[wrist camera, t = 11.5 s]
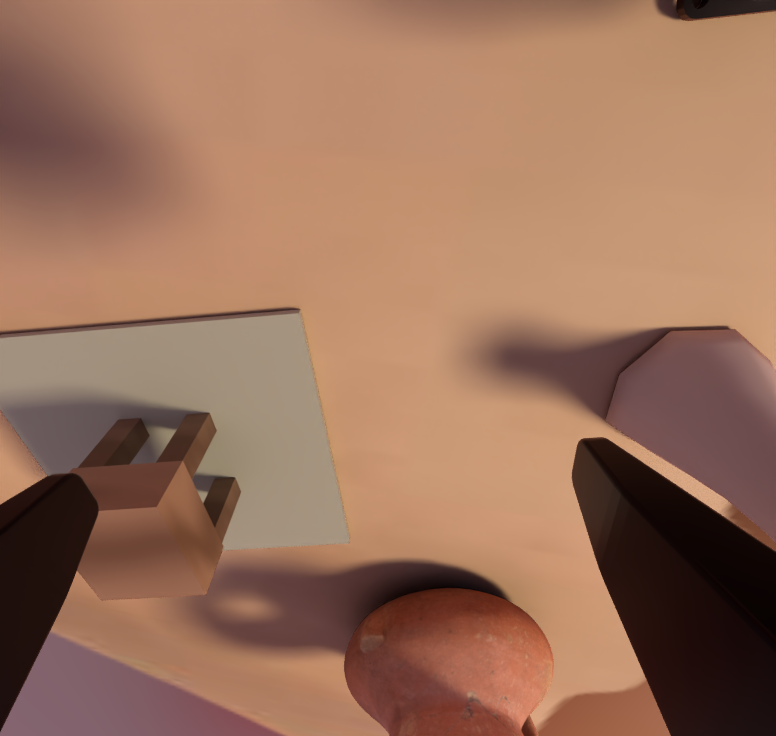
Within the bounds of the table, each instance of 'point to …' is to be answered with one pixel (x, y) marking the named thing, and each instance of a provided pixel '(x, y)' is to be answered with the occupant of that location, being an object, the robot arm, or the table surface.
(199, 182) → the table surface
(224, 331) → the sage mat
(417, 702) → the ceramic jug
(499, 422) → the table surface
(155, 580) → the walnut stool
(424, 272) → the table surface
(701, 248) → the table surface
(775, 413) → the flask
